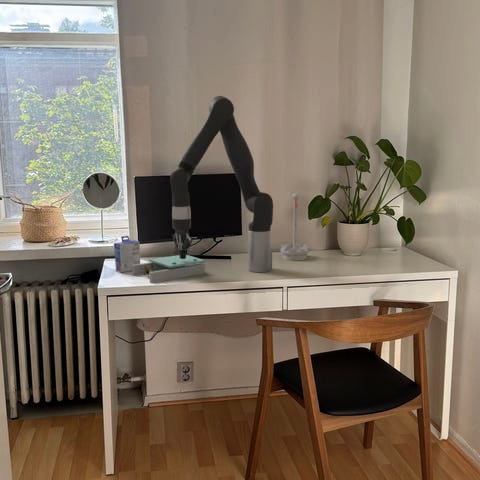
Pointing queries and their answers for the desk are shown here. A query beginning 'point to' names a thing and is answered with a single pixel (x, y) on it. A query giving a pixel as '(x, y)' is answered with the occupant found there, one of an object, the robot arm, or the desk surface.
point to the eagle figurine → (149, 270)
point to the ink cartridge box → (126, 254)
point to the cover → (176, 261)
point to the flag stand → (294, 241)
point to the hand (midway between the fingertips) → (182, 258)
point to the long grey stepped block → (168, 271)
